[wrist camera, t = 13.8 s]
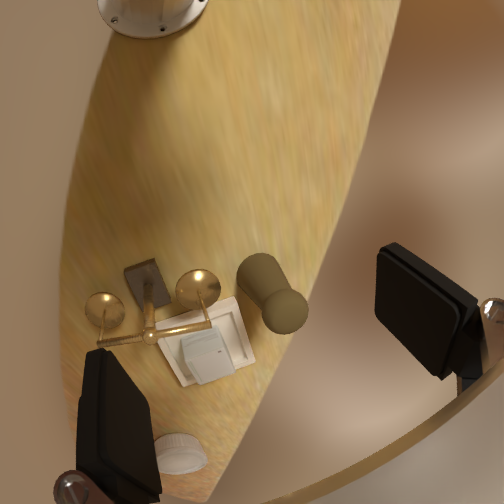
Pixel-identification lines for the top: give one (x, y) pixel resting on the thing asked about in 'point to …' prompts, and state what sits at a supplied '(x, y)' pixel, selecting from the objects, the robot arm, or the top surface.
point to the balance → (154, 303)
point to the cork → (272, 293)
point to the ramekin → (179, 454)
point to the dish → (219, 314)
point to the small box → (207, 355)
